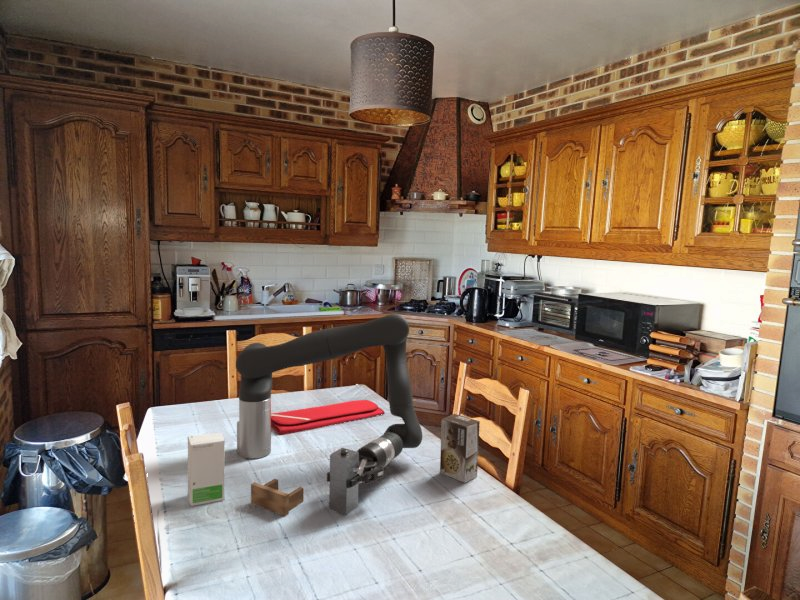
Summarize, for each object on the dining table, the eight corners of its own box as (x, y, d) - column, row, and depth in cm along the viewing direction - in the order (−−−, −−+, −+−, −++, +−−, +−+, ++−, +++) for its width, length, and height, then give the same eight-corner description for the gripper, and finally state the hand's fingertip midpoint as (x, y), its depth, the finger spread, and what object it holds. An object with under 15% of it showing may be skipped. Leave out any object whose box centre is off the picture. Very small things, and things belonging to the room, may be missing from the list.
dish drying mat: (385, 416, 193) (385, 406, 192) (280, 437, 170) (280, 426, 170) (364, 404, 206) (364, 395, 205) (264, 422, 183) (263, 412, 182)
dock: (251, 503, 127) (250, 484, 127) (272, 490, 134) (272, 472, 133) (285, 516, 122) (285, 496, 121) (305, 502, 129) (306, 483, 128)
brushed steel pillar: (329, 509, 125) (330, 451, 124) (341, 500, 130) (342, 444, 128) (346, 515, 123) (347, 456, 121) (357, 506, 127) (358, 449, 126)
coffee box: (478, 476, 145) (481, 421, 143) (464, 483, 141) (467, 427, 139) (452, 465, 152) (454, 412, 150) (438, 472, 147) (440, 418, 145)
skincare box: (189, 507, 125) (188, 445, 123) (187, 494, 131) (185, 435, 129) (226, 499, 129) (225, 440, 127) (221, 488, 134) (221, 430, 132)
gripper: (353, 436, 141) (314, 459, 126) (399, 448, 134) (363, 473, 119) (352, 462, 142) (313, 488, 127) (398, 475, 135) (362, 504, 120)
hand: (338, 481), depth 123 cm, fingers closed on brushed steel pillar, 5 cm apart
